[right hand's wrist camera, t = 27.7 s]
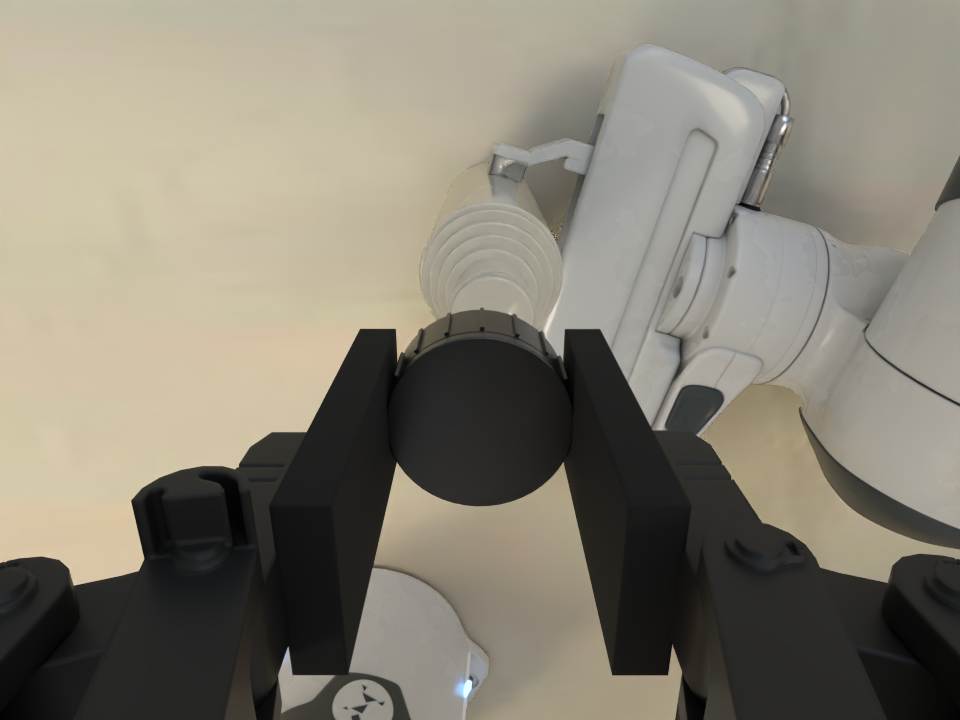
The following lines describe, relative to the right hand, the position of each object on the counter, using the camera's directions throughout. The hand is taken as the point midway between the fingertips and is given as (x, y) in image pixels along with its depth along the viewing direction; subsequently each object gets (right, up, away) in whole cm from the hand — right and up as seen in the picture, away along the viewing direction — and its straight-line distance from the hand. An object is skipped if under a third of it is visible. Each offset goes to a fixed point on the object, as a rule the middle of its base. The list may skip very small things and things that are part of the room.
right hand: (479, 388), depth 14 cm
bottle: (+1, +10, +25) cm, 27 cm away
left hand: (0, +8, +20) cm, 21 cm away
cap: (0, -1, -1) cm, 2 cm away
